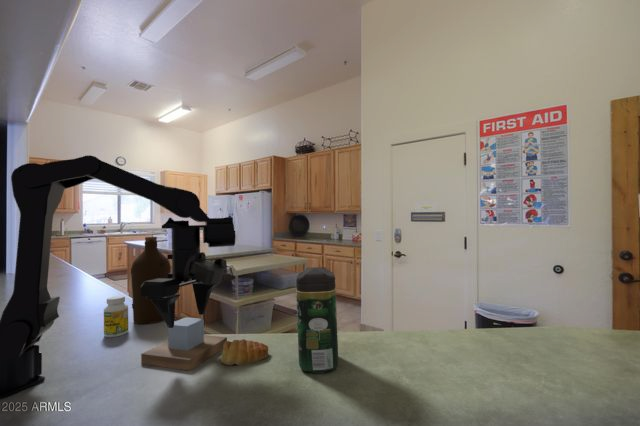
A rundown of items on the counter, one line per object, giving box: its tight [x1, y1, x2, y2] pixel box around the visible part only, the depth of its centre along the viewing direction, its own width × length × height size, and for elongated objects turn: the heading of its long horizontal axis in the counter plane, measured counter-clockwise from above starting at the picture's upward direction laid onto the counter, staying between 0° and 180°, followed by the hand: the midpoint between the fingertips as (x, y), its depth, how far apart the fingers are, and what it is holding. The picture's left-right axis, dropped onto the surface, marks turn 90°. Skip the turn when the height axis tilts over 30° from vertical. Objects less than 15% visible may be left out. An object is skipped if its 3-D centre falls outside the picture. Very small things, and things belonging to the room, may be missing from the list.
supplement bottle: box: [103, 295, 129, 338], centre depth 80 cm, size 5×5×10 cm
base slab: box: [140, 334, 228, 372], centre depth 65 cm, size 12×12×2 cm
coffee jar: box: [295, 266, 339, 374], centre depth 60 cm, size 10×8×19 cm
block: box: [167, 316, 205, 351], centre depth 65 cm, size 5×5×5 cm
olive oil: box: [130, 236, 172, 325], centre depth 92 cm, size 11×11×25 cm
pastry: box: [220, 339, 269, 366], centre depth 63 cm, size 9×7×4 cm
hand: (187, 320), depth 66 cm, fingers open, 9 cm apart
